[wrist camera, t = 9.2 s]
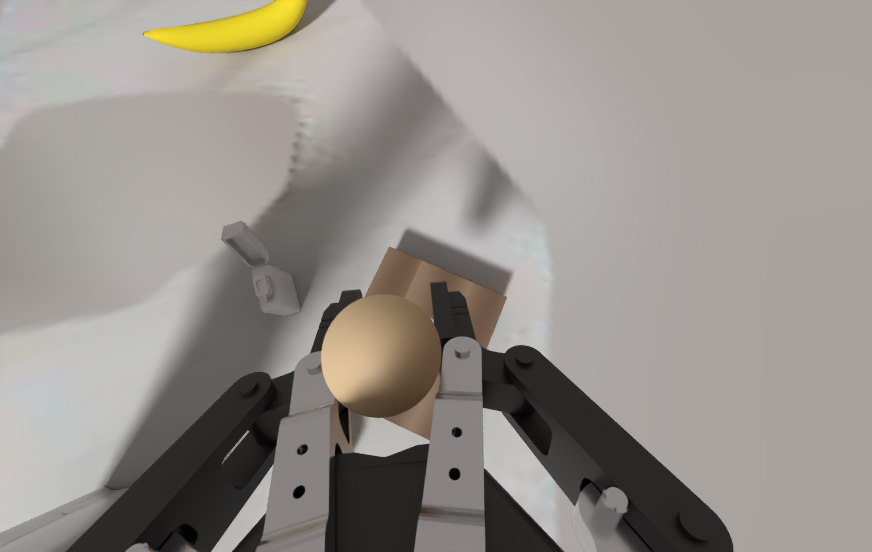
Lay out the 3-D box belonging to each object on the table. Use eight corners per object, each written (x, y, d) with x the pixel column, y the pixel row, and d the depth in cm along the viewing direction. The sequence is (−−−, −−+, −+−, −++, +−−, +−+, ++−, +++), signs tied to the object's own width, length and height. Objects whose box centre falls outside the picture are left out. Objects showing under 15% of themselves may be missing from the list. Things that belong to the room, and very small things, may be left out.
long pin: (371, 361, 18) (299, 385, 8) (395, 309, 19) (355, 276, 9) (422, 385, 18) (410, 439, 8) (446, 332, 18) (460, 323, 9)
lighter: (301, 311, 32) (258, 301, 24) (284, 316, 32) (235, 309, 24) (284, 246, 33) (238, 217, 26) (268, 252, 33) (216, 224, 25)
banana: (176, 63, 38) (125, 8, 32) (327, 9, 39) (307, -53, 33) (183, 82, 37) (133, 31, 31) (335, 27, 39) (317, -33, 33)
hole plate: (331, 383, 31) (320, 388, 28) (393, 254, 33) (389, 246, 30) (445, 437, 30) (447, 448, 27) (500, 301, 32) (507, 297, 29)
